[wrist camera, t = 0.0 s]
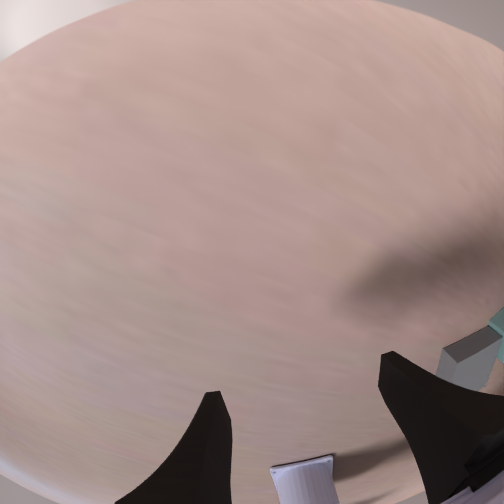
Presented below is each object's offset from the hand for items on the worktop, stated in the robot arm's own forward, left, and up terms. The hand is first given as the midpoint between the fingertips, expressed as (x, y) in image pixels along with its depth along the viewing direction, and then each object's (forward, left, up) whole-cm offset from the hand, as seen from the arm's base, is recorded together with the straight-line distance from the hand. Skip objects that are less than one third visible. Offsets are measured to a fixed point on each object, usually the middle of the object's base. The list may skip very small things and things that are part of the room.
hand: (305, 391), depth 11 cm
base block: (-15, -21, -10) cm, 28 cm away
